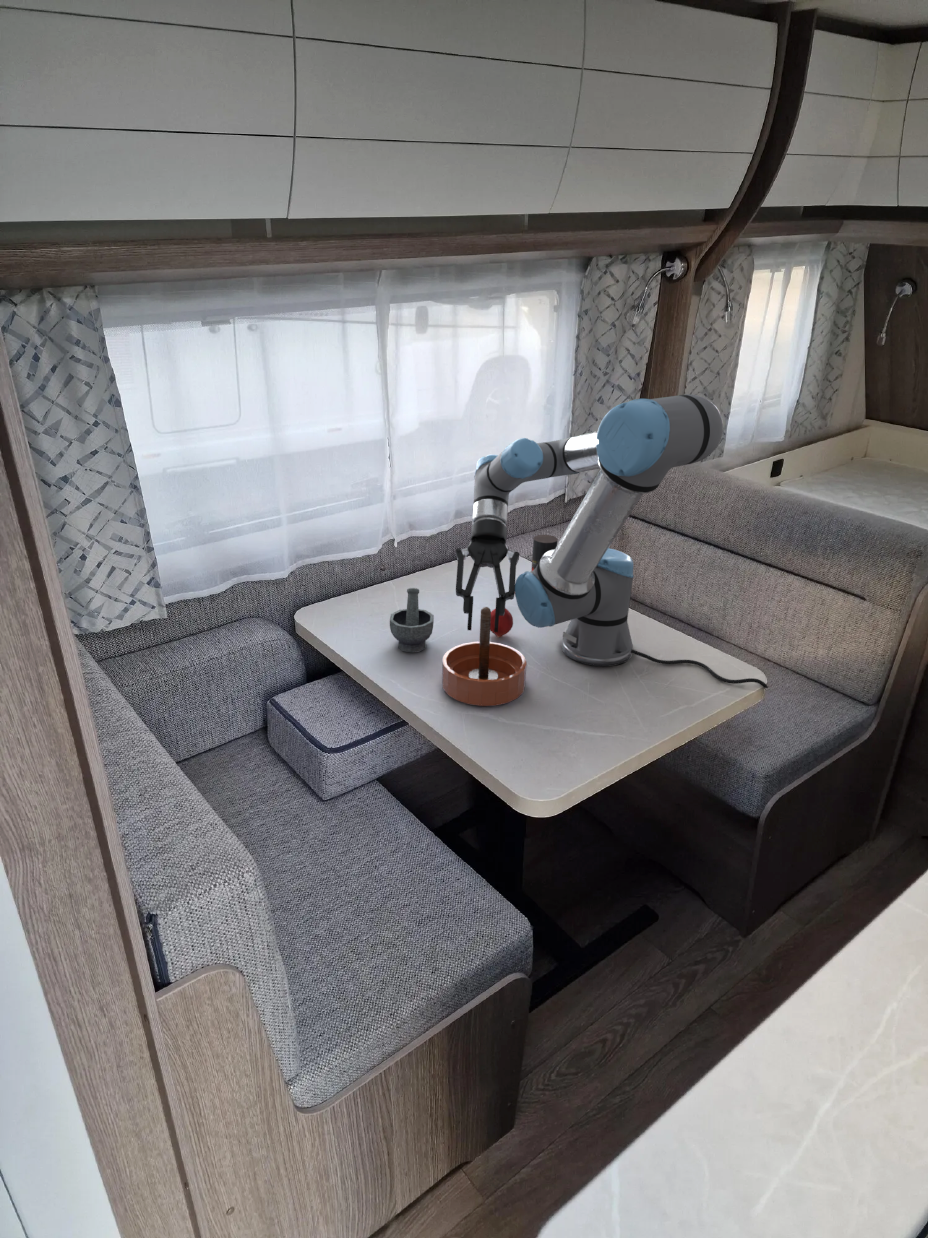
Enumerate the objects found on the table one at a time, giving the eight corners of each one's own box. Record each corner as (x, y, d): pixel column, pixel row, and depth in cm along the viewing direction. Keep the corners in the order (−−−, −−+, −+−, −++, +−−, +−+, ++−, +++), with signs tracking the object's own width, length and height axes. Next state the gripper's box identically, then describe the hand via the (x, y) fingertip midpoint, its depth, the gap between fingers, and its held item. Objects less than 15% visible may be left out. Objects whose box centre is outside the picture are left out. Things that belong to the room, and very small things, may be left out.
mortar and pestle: (432, 656, 176) (432, 606, 170) (388, 655, 176) (387, 605, 170) (434, 633, 186) (434, 585, 181) (393, 632, 186) (392, 584, 180)
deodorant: (553, 599, 204) (558, 543, 198) (529, 598, 204) (533, 542, 198) (553, 590, 209) (557, 535, 203) (529, 589, 210) (533, 534, 203)
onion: (491, 629, 188) (492, 597, 185) (515, 633, 187) (517, 601, 183) (483, 639, 183) (484, 607, 180) (508, 644, 182) (509, 611, 178)
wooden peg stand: (500, 678, 167) (504, 602, 159) (494, 693, 161) (498, 615, 154) (471, 674, 168) (474, 599, 160) (465, 689, 162) (467, 611, 155)
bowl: (530, 672, 170) (532, 647, 168) (517, 713, 156) (518, 686, 153) (453, 662, 174) (453, 637, 171) (433, 702, 159) (433, 675, 156)
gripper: (530, 535, 176) (525, 637, 169) (448, 530, 177) (439, 632, 169) (532, 519, 169) (527, 625, 162) (447, 514, 170) (438, 620, 162)
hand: (482, 628), depth 165 cm, fingers open, 5 cm apart
